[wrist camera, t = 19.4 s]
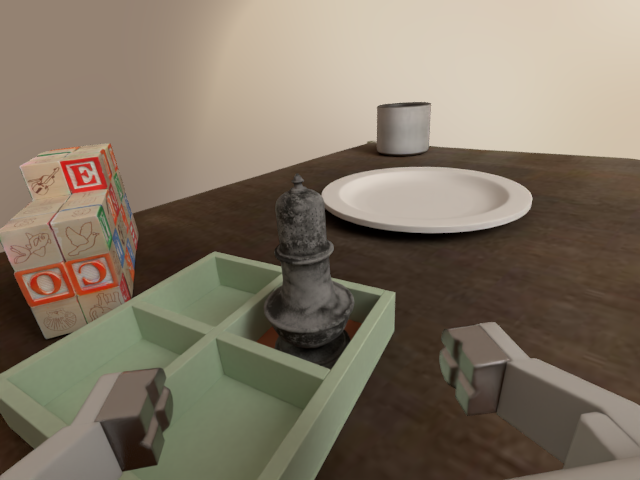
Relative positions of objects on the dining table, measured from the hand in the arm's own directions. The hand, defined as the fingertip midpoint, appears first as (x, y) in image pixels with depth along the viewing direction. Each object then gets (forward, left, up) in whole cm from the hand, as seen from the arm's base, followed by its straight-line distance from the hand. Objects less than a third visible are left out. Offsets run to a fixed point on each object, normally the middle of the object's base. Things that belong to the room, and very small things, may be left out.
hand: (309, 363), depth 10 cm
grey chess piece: (+6, -9, -9) cm, 15 cm away
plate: (+7, -42, -10) cm, 44 cm away
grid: (+10, -5, -10) cm, 15 cm away
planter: (+21, -80, -10) cm, 84 cm away
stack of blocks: (+32, -10, -10) cm, 35 cm away
